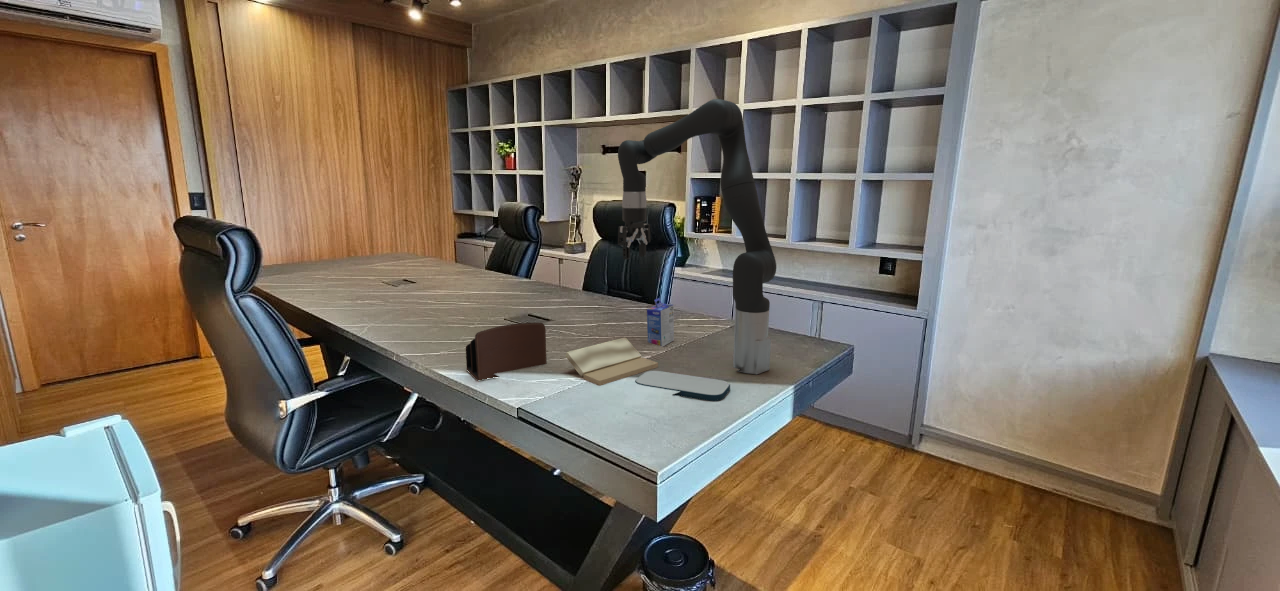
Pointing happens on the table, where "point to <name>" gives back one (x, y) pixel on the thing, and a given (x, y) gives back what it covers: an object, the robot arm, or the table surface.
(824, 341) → the table surface
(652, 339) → the ink cartridge box
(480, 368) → the letter holder
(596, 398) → the table surface
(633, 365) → the tan rectangular board
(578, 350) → the ash plank
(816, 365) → the table surface
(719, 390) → the external hard drive
